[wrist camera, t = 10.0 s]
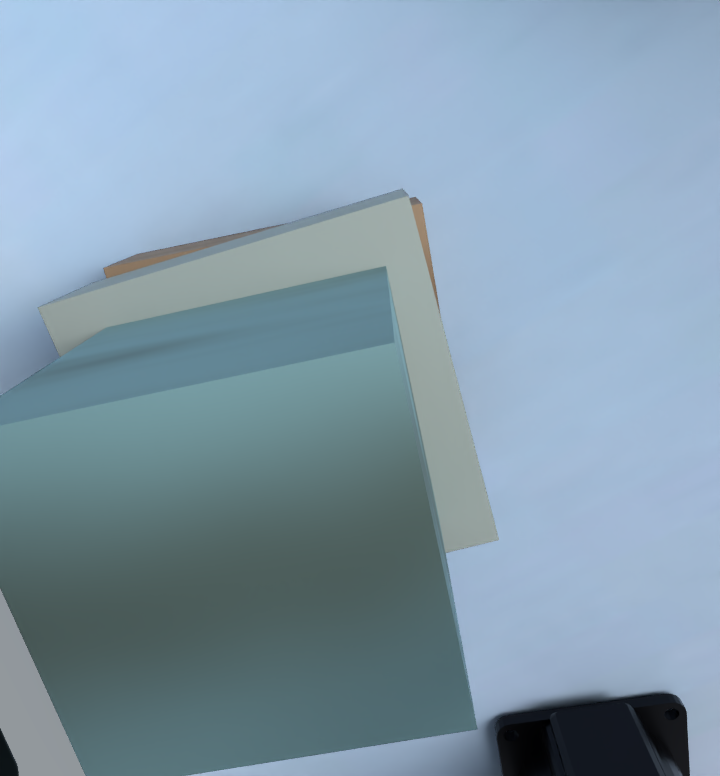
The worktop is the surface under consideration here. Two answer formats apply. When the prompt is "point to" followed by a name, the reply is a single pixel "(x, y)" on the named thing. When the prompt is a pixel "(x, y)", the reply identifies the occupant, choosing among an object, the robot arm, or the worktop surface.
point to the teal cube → (232, 536)
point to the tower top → (304, 265)
